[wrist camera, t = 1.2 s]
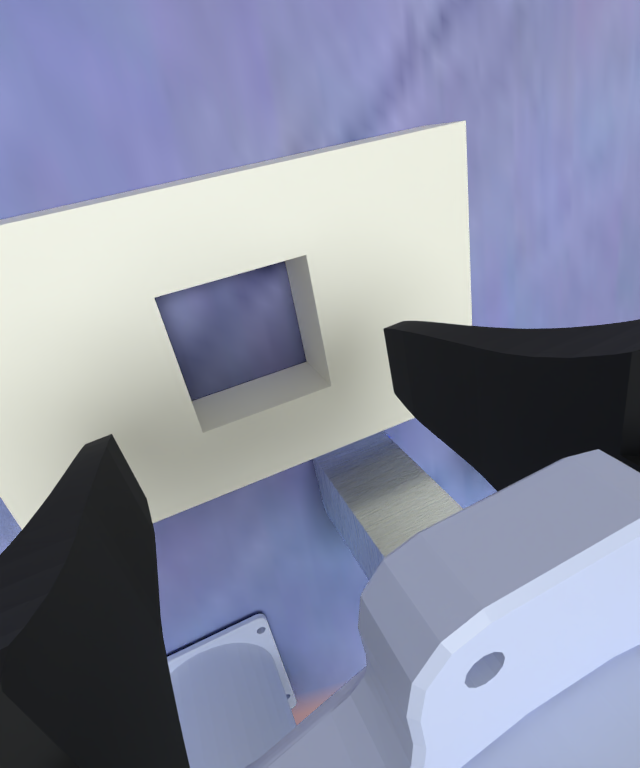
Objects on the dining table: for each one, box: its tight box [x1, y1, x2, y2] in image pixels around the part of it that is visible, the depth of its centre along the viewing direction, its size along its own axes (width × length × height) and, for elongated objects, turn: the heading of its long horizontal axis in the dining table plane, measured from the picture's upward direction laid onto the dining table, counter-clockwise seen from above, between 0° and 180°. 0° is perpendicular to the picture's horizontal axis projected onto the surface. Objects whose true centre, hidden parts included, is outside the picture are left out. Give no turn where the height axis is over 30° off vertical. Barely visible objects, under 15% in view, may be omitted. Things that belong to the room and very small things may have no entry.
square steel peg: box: [313, 431, 463, 580], centre depth 23 cm, size 4×4×8 cm
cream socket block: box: [0, 121, 472, 530], centre depth 19 cm, size 12×20×3 cm, turn 102°
